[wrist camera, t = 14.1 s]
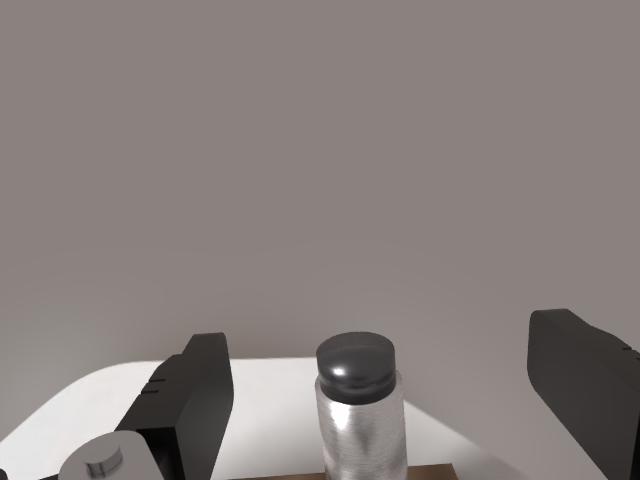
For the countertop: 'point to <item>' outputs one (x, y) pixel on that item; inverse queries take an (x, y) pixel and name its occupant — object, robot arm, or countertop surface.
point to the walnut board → (426, 476)
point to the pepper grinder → (361, 408)
